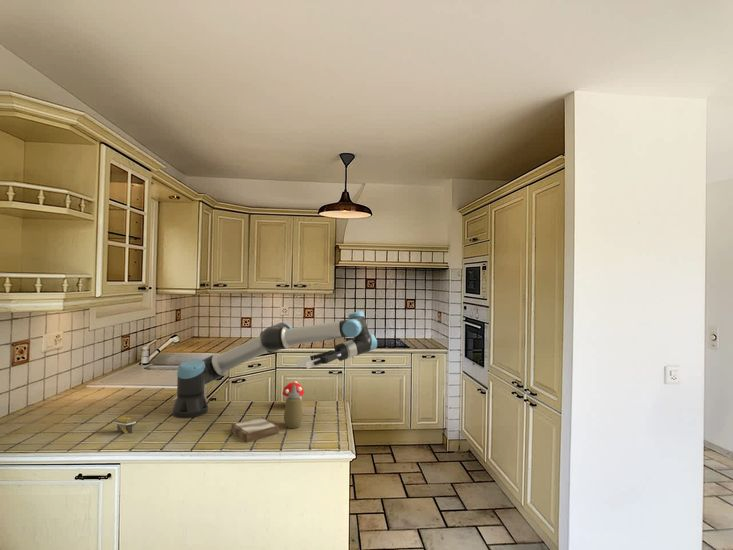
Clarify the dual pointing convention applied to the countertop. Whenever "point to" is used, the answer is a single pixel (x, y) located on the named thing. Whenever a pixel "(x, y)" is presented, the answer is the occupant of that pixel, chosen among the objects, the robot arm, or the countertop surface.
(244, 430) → the picture frame
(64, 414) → the countertop surface
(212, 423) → the countertop surface
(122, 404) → the countertop surface
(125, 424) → the platform
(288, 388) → the mushroom
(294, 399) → the squeeze bottle
